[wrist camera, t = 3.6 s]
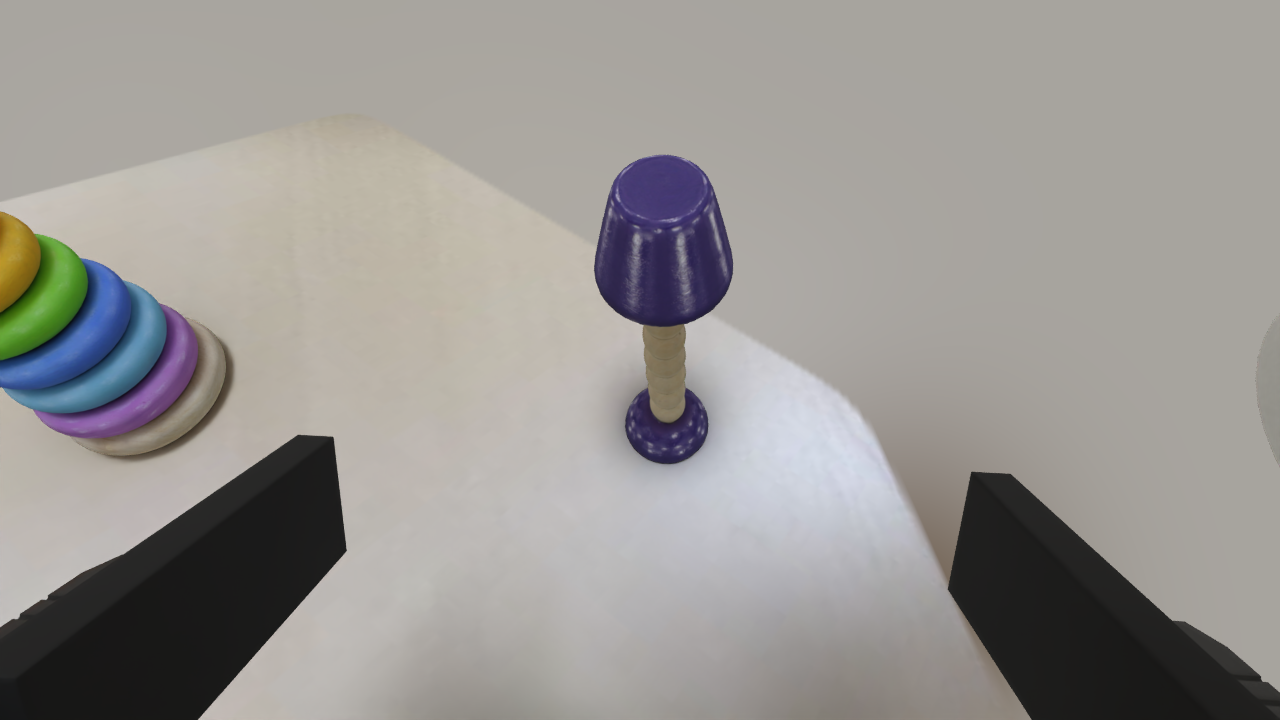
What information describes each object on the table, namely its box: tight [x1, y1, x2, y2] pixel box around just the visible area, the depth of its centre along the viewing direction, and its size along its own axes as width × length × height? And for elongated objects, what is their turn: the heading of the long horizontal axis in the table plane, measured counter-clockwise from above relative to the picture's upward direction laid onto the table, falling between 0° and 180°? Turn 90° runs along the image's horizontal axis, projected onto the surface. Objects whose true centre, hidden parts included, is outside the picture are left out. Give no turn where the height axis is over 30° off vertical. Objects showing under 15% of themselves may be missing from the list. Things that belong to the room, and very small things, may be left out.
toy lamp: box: [594, 155, 733, 464], centre depth 25 cm, size 5×5×17 cm
